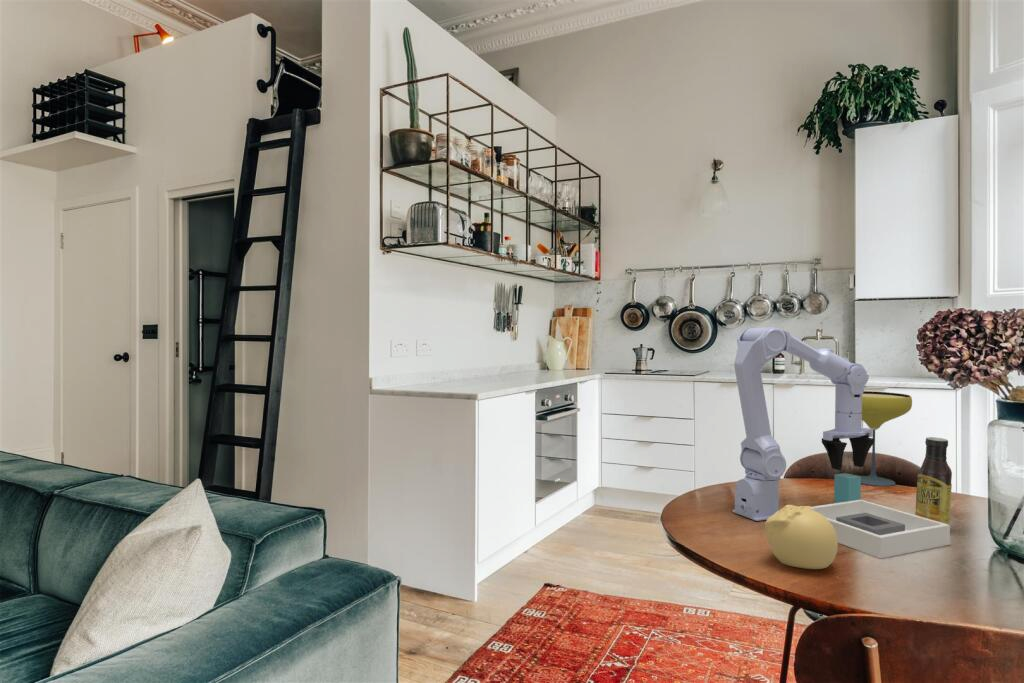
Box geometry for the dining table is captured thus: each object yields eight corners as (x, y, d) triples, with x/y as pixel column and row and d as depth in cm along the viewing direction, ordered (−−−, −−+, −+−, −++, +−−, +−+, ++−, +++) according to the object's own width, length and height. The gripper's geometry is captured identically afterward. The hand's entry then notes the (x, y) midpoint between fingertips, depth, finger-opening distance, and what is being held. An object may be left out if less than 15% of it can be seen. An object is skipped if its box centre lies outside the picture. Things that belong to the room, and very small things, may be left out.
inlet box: (880, 558, 117) (881, 537, 117) (796, 527, 136) (796, 509, 136) (949, 544, 125) (950, 525, 125) (860, 516, 143) (860, 499, 143)
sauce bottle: (908, 525, 137) (909, 436, 136) (928, 522, 139) (929, 434, 138) (937, 534, 131) (939, 441, 130) (957, 531, 133) (959, 439, 132)
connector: (848, 511, 147) (848, 478, 147) (834, 507, 151) (834, 474, 151) (860, 509, 149) (860, 476, 149) (845, 505, 152) (846, 473, 152)
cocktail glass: (830, 482, 175) (831, 394, 174) (845, 471, 189) (846, 389, 188) (905, 493, 163) (906, 399, 163) (915, 480, 177) (916, 393, 177)
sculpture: (783, 547, 123) (783, 494, 123) (847, 565, 114) (847, 507, 114) (755, 562, 115) (755, 505, 115) (821, 582, 106) (822, 520, 106)
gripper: (841, 415, 143) (840, 474, 143) (884, 412, 149) (883, 468, 149) (815, 412, 149) (815, 467, 150) (858, 409, 155) (857, 462, 155)
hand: (847, 467), depth 150 cm, fingers open, 7 cm apart
